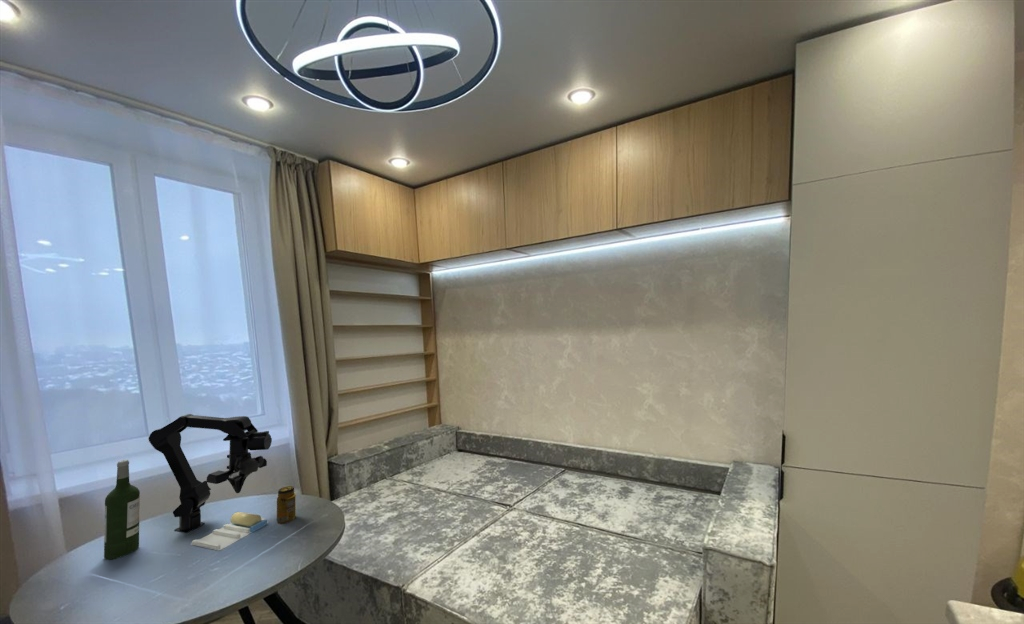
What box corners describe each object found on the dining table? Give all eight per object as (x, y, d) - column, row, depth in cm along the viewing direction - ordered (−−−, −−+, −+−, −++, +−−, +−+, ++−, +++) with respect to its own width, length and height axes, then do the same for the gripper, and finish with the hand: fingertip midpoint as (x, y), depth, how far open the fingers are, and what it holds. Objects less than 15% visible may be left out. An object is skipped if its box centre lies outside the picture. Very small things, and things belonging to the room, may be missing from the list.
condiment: (295, 514, 143) (295, 483, 143) (299, 522, 136) (298, 490, 137) (273, 520, 138) (273, 488, 138) (276, 530, 131) (275, 496, 132)
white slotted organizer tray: (190, 545, 123) (190, 539, 123) (242, 518, 140) (242, 513, 140) (219, 551, 119) (219, 545, 119) (269, 523, 136) (269, 518, 136)
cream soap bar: (230, 525, 134) (231, 514, 134) (241, 521, 138) (241, 510, 138) (250, 529, 131) (250, 517, 131) (260, 524, 135) (261, 513, 135)
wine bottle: (139, 552, 120) (140, 460, 122) (103, 563, 115) (104, 467, 116) (138, 542, 126) (139, 455, 127) (104, 553, 120) (106, 461, 121)
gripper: (227, 461, 127) (226, 507, 126) (277, 445, 145) (276, 485, 144) (206, 458, 131) (204, 502, 130) (257, 442, 148) (256, 481, 147)
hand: (238, 492), depth 138 cm, fingers closed
